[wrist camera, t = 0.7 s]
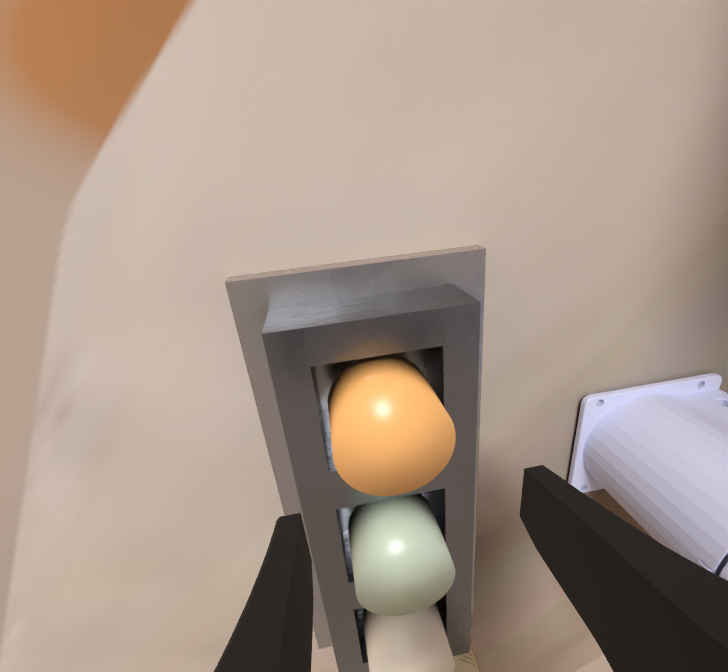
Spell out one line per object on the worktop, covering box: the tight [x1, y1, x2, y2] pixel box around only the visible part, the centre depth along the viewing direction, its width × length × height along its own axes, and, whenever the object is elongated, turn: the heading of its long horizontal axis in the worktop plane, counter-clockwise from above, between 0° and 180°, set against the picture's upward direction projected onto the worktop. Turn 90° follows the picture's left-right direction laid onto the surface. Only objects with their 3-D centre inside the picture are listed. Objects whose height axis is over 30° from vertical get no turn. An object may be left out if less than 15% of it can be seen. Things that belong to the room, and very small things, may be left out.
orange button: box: [328, 354, 456, 496], centre depth 15 cm, size 5×5×3 cm
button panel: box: [225, 245, 486, 672], centre depth 21 cm, size 12×28×4 cm, turn 6°
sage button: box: [348, 493, 455, 616], centre depth 18 cm, size 5×5×3 cm
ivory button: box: [362, 603, 455, 672], centre depth 22 cm, size 5×5×3 cm
